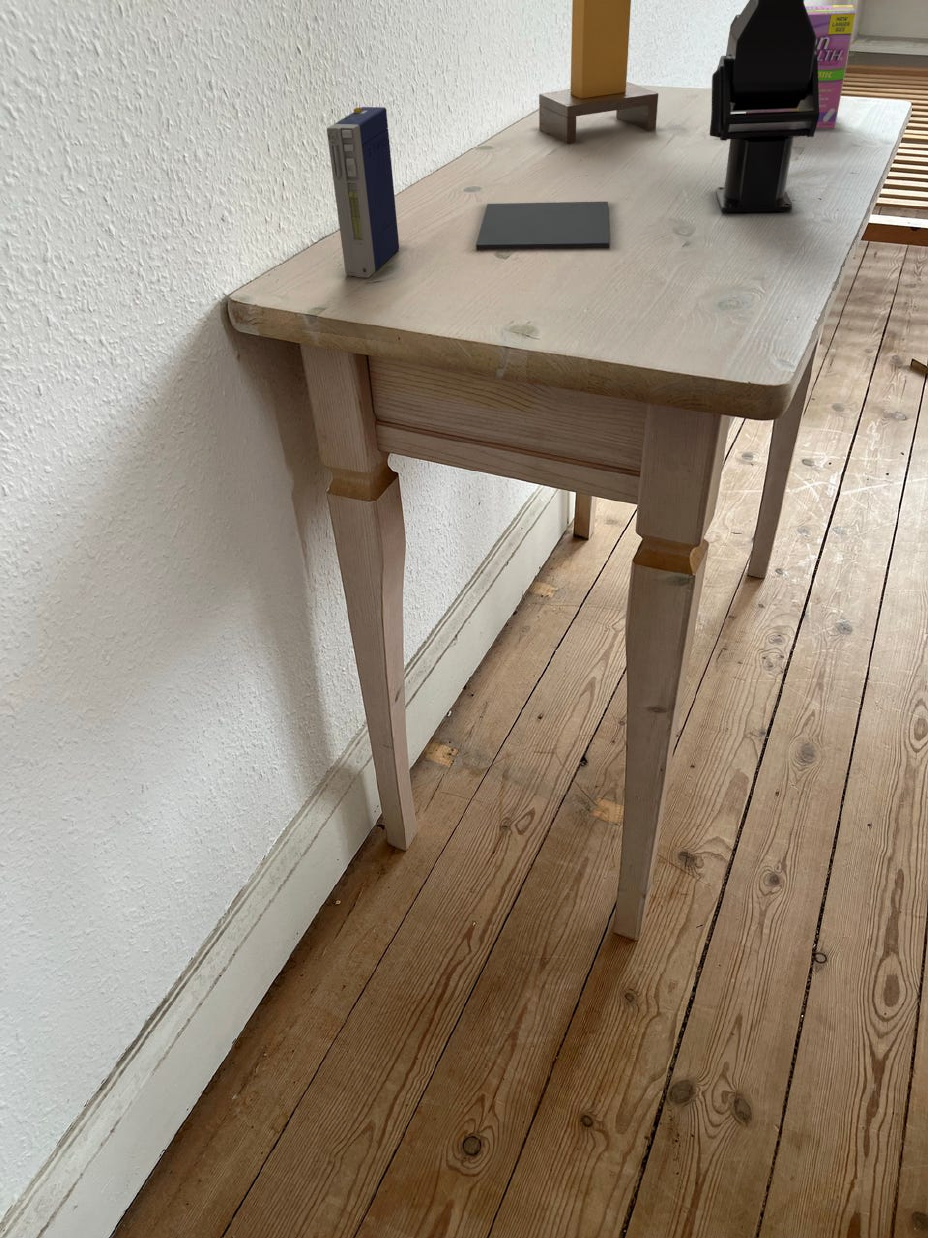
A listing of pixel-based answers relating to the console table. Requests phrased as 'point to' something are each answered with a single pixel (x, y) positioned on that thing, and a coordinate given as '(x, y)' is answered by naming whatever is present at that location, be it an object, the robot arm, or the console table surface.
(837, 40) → the box
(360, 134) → the cassette player
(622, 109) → the shelf
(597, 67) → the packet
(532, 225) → the mat
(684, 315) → the console table surface
